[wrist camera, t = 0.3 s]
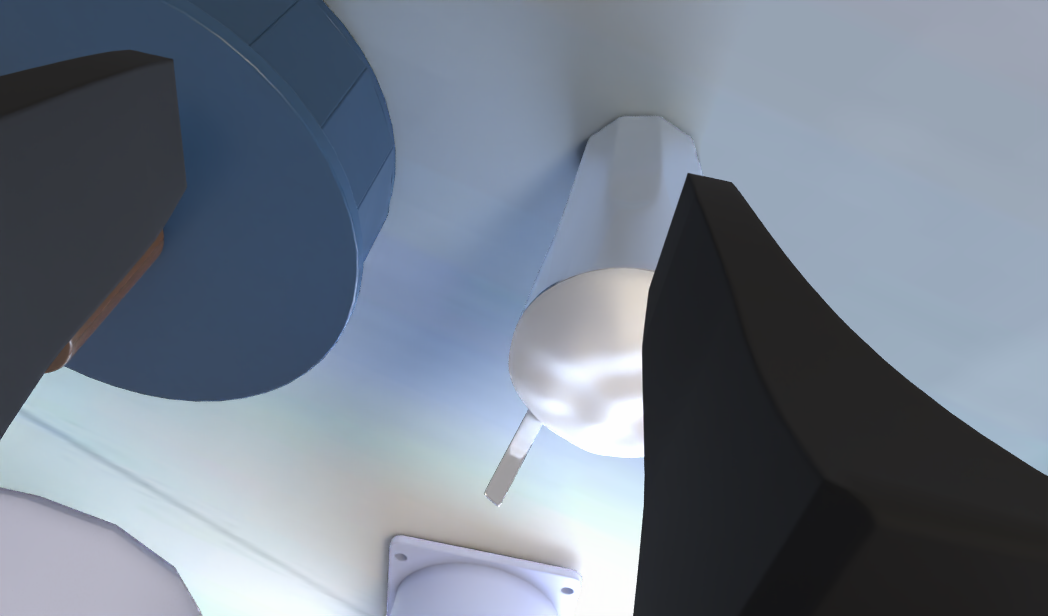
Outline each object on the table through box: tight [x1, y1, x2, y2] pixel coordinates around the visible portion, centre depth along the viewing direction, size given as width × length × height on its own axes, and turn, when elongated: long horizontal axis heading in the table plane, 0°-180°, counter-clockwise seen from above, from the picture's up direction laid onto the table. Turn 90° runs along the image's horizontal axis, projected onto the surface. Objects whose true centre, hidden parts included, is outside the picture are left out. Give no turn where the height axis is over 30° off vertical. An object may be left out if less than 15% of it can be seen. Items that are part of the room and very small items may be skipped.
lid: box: [0, 0, 363, 401], centre depth 19 cm, size 12×12×5 cm
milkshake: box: [484, 116, 703, 506], centre depth 19 cm, size 4×5×10 cm
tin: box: [186, 0, 396, 263], centre depth 22 cm, size 11×11×4 cm
